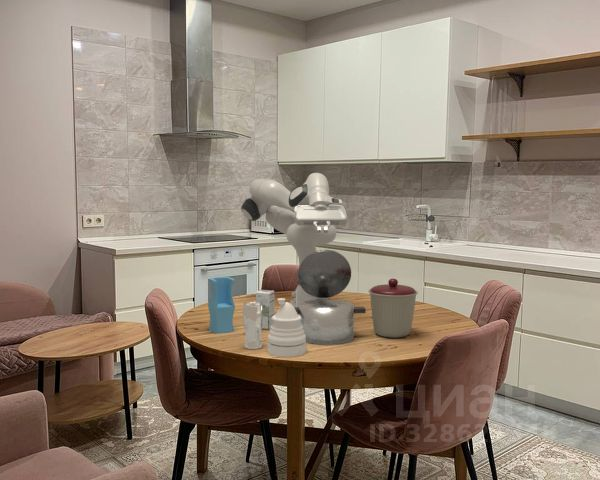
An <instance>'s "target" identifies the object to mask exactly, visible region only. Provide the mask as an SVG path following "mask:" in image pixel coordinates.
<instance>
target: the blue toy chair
mask: <svg viewBox="0 0 600 480" xmlns="http://www.w3.org/2000/svg"><path fill="white" fill-rule="evenodd" d="M208 280H209V284H210V297H209V300H208V303H207V308H208V311H209V326H208V330H209V331H210V332H212V333H213V334H226V333H233V332H234V330H235V329H234V323H233V319H234V313H235V310H236V305H235V302H234V299H233V286H234V283H235V278H232V277H229V276H216V277H215V276H214V277H213V276H212V277H209V278H208Z"/></svg>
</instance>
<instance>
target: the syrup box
mask: <svg viewBox="0 0 600 480" xmlns="http://www.w3.org/2000/svg"><path fill="white" fill-rule="evenodd" d="M255 302H260V303H262V304H263V325H262V330H268V331H270V329H271V325H272V323H273V320H272V316H274V315H275V290H268V289H259V290H258V291H256V292H255Z"/></svg>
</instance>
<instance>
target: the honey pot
mask: <svg viewBox="0 0 600 480" xmlns="http://www.w3.org/2000/svg"><path fill="white" fill-rule="evenodd" d="M277 302H278V304H279V305H280V306H279V308H278V310H277V311H276V313H275V314H274V316H272V320H273V323H272V325H271V329H270V330H269V333H268V335H267V353H268V354H269V355H271V356H274V357H278V358H295V357H300V356H302V355H304V354H306V352H307V346H306V345H307V342H306V335H305V334H304V330H303V326H302V324H301V322H300V320H301V316H299V314H297V312H296V310H295V308H294V307H293V306H292V305H291V304H290V302H289V301H288V302H287V301H286V298H284V297H283V298H282V297H281V298H277Z"/></svg>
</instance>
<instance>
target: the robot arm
mask: <svg viewBox="0 0 600 480" xmlns="http://www.w3.org/2000/svg"><path fill="white" fill-rule="evenodd" d="M328 181H329V180H328V178H327V177H326V176H325V175H324V174H322V173H320V172H313V173H310V174H309V175H308V176H307V178H306V180H305V182H304V183H303V184H301V185H298V186H297V187H295V188H293V189H292V190H291V191H290V190H289V189H288V188H286V186H284V185H283V184H281V183H280V182H278V181H277V180H275V179H270V178H256V179H254V180H253V181H252V182H251V183H250V185H249V193H250V196H248V198H245V199H244V201H243V203H242V205H241V208H240V210H241V213H242V214H243V216H244V217H245V218H246V219H248V220H249V221H253V222H255V221H258V220H259V219H261V217H263V216H264V215H265V221H266V223H267V224H269V226H271V227H272V228H273V229H275V230H276V231H278V232H280V233H282V234H284V235H286V239H287V242H288V244H290V245H291V246H292V247H293V248H294V251H296V254H297V258H298V267H299V266H300V264H301V262H302V261H303V260H304V259H305V258H306V257H307V256H308V255H310V254H311V253H314V252H316V251H317V246H325V245H328V244H330V243H332V242H333V241H335V240H336V237H337V229H336V226H345V225H347V223H348V214H347V211H346V208H345V207H344V205H343V200H342V199H340V198H335V197H332V196H331V195H330V186H329V185H330V184H329V182H328ZM291 297H292V298H293V299H290V300H289V303H290V304H291V305H292V306H293V307H299V304H300V303H302V302H305V301H310V300H316V299H324V298H318V297H314V296H311V295H309V294H308V293H306V292H305V291H304V290H303V289H302V287H301V286H300V284H299V281H298V280H297V287H296V288H295V289H294V291H291Z"/></svg>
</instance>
